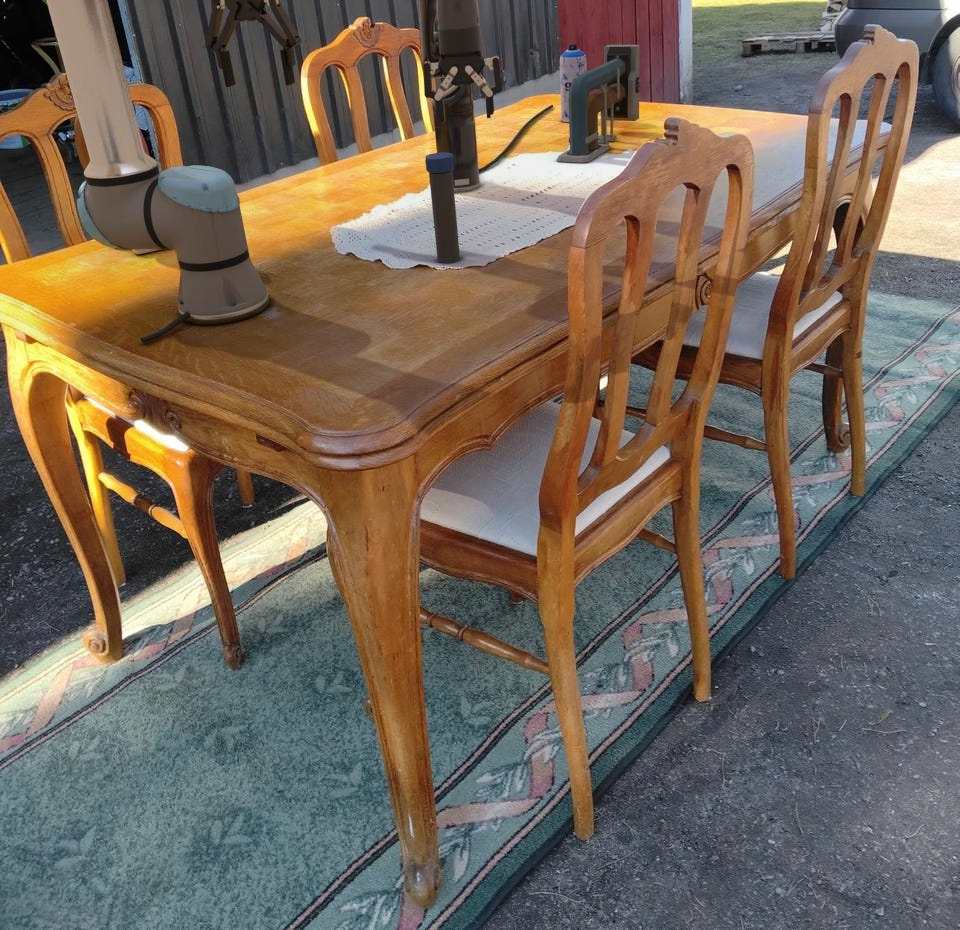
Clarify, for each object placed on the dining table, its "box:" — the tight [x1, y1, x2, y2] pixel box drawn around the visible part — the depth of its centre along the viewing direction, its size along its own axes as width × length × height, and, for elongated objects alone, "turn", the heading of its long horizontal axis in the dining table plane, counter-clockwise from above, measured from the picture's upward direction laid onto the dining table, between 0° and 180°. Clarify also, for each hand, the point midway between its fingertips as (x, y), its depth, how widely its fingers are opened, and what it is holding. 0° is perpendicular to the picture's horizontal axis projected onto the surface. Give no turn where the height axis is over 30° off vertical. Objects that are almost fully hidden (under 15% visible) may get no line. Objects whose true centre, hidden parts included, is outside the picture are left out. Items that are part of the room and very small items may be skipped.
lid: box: [424, 152, 454, 173], centre depth 171 cm, size 5×5×2 cm
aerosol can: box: [559, 43, 588, 123], centre depth 273 cm, size 8×8×20 cm
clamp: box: [556, 44, 641, 164], centre depth 243 cm, size 35×9×21 cm, turn 151°
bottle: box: [428, 171, 461, 264], centre depth 175 cm, size 4×4×18 cm
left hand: (260, 85), depth 196 cm, fingers open, 13 cm apart
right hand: (465, 119), depth 179 cm, fingers open, 8 cm apart
